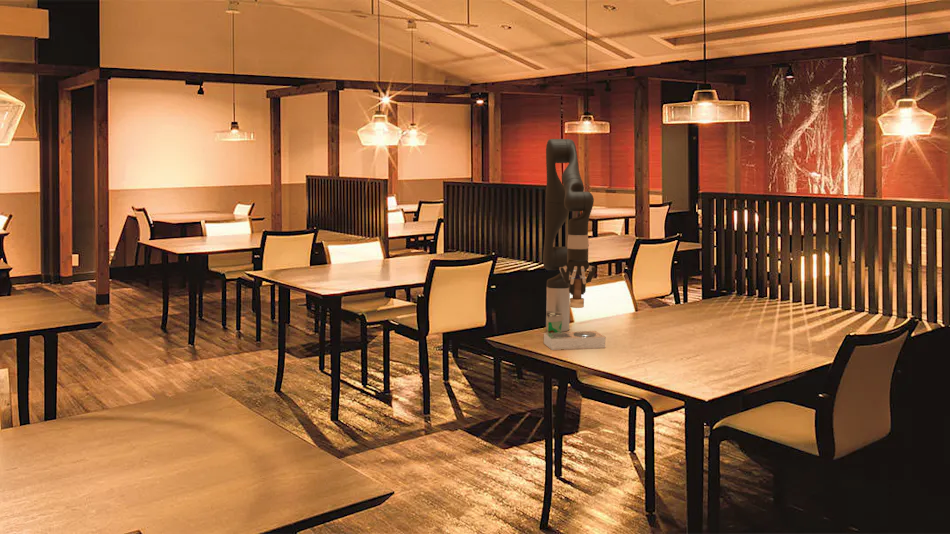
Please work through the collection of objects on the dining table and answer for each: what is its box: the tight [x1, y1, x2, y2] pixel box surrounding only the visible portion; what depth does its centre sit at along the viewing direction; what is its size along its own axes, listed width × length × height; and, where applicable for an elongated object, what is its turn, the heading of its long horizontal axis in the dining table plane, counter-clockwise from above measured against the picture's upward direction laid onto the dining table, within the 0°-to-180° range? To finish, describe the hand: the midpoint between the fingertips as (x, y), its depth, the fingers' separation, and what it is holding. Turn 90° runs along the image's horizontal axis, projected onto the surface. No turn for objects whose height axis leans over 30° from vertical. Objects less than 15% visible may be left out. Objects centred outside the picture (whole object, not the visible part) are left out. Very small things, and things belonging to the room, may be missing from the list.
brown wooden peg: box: [570, 278, 585, 309], centre depth 313 cm, size 5×5×10 cm
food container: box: [545, 311, 564, 333], centre depth 325 cm, size 12×6×10 cm, turn 179°
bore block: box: [543, 330, 606, 351], centre depth 315 cm, size 11×20×4 cm, turn 100°
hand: (577, 294), depth 313 cm, fingers closed on brown wooden peg, 3 cm apart
